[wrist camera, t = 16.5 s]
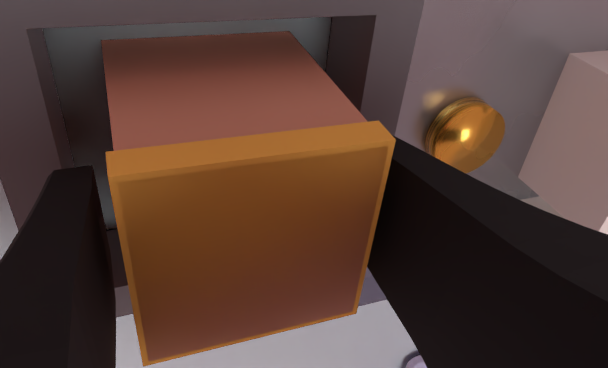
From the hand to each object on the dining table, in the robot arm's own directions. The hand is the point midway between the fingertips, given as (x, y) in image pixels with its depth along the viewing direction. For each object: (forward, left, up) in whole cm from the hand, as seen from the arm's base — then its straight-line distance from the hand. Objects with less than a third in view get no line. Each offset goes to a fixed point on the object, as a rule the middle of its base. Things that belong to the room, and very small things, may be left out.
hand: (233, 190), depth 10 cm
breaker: (0, -11, -2) cm, 11 cm away
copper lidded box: (0, 0, -3) cm, 3 cm away
